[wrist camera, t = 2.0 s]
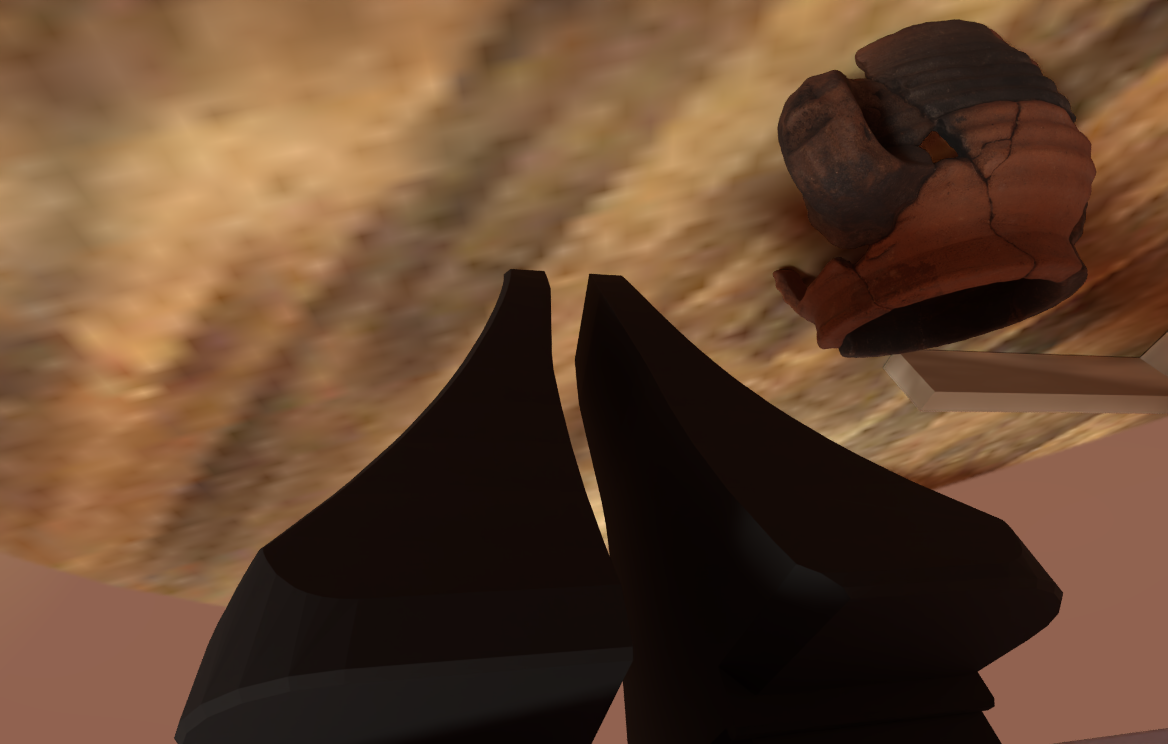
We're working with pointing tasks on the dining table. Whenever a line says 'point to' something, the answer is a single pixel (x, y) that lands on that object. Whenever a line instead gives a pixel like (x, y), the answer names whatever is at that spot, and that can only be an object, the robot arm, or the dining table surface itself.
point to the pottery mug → (936, 191)
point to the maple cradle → (1033, 381)
